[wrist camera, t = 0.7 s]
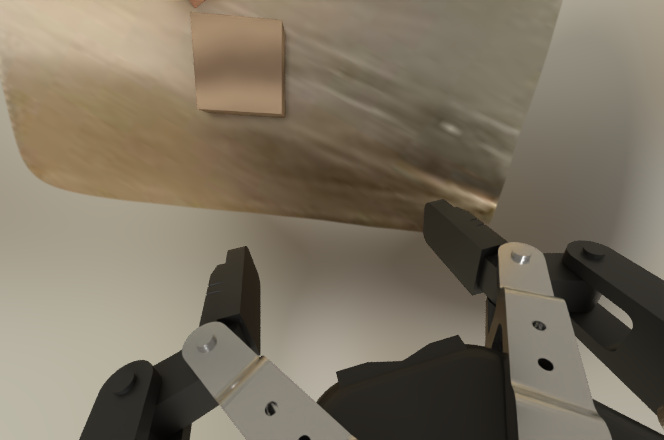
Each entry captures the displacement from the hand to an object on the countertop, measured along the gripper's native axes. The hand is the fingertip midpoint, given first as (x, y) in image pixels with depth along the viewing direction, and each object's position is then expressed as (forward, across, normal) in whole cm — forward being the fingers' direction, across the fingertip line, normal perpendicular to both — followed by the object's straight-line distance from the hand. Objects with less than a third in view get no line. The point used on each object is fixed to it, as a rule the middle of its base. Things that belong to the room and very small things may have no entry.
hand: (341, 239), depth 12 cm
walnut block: (+28, +4, -5) cm, 29 cm away
